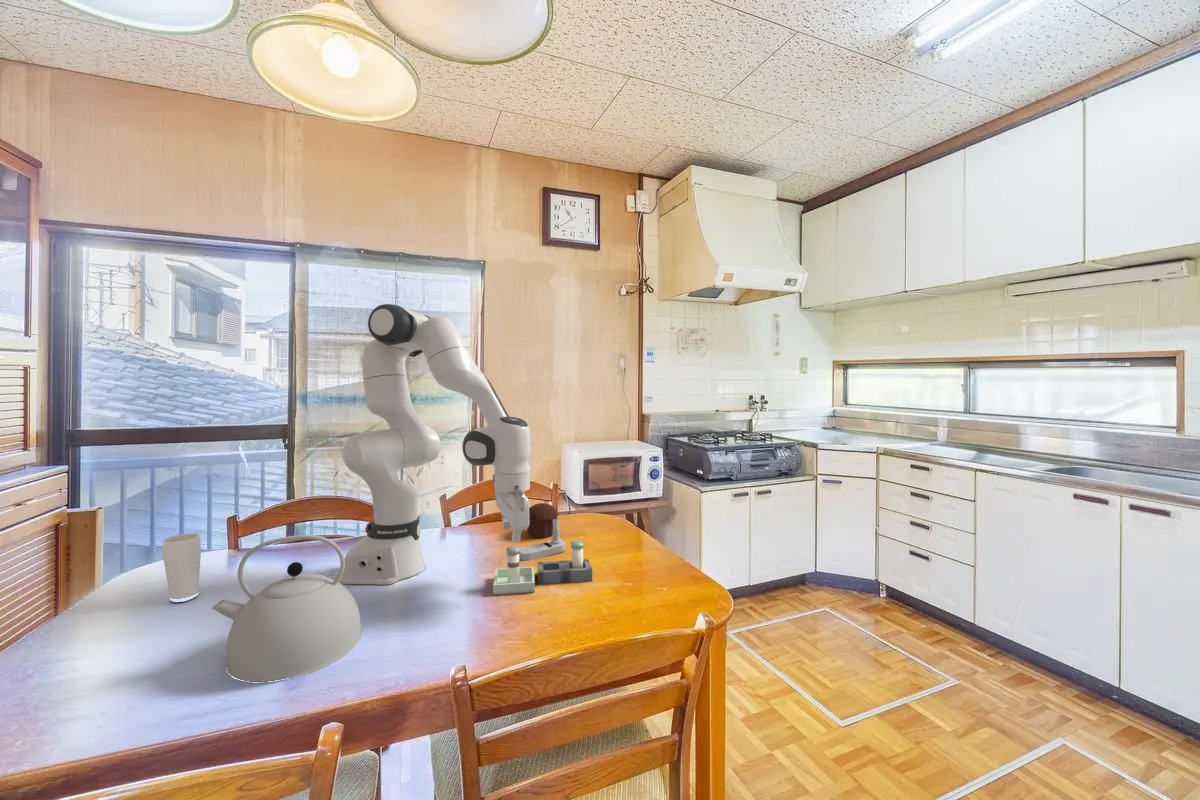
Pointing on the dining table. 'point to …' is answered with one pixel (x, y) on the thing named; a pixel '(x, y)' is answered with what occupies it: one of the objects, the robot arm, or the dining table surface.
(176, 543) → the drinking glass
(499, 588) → the parts tray
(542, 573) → the socket block
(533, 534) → the muffin
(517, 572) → the cylinder
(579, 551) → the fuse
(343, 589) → the kettle
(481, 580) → the dining table surface
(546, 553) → the electronic device
